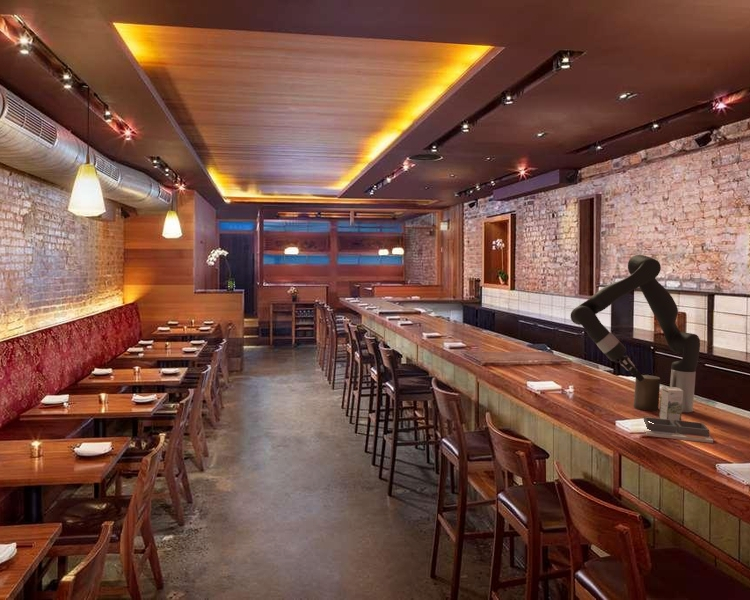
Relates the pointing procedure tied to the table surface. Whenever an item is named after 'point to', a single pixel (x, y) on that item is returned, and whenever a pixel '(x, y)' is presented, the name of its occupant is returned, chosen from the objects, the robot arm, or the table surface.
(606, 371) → the table surface
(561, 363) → the table surface
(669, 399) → the syrup box
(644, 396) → the pillar candle
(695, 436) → the socket board
